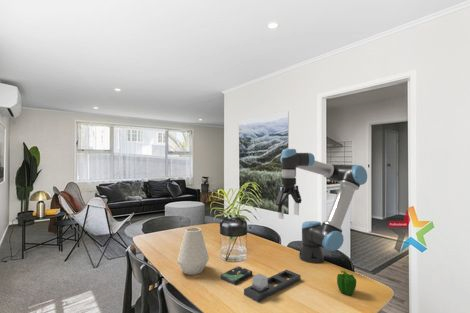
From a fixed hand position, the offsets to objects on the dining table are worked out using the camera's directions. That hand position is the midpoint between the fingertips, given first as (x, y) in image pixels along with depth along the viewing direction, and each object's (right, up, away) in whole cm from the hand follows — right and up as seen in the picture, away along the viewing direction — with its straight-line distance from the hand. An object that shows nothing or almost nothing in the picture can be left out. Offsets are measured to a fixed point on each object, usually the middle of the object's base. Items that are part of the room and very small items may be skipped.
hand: (288, 216), depth 141 cm
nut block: (-18, -32, -20) cm, 41 cm away
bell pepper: (+24, -32, -18) cm, 44 cm away
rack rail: (-10, -32, -13) cm, 36 cm away
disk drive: (-28, -32, -2) cm, 43 cm away
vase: (-53, -32, +5) cm, 62 cm away
